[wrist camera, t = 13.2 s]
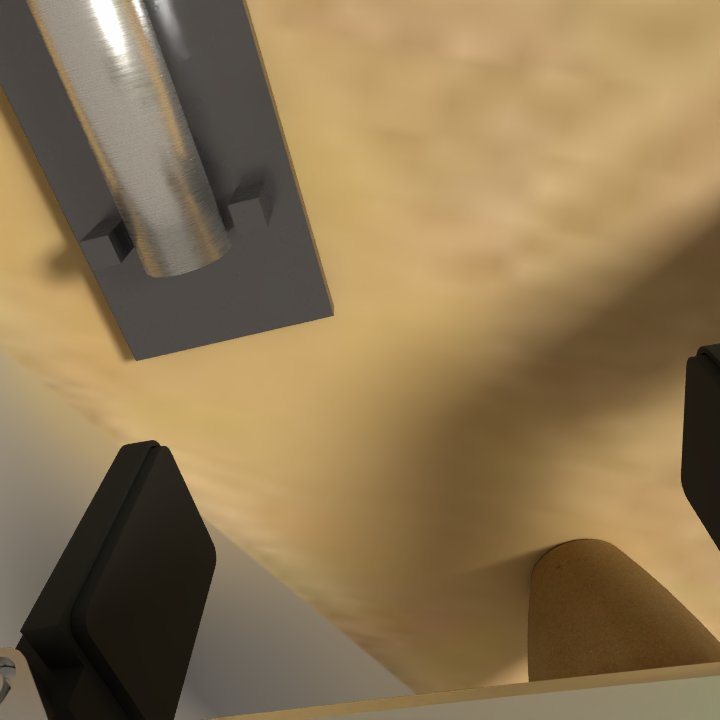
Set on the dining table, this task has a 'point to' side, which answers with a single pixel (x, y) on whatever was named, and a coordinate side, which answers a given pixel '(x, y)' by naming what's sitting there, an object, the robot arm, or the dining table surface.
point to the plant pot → (606, 617)
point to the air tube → (135, 129)
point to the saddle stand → (221, 165)
